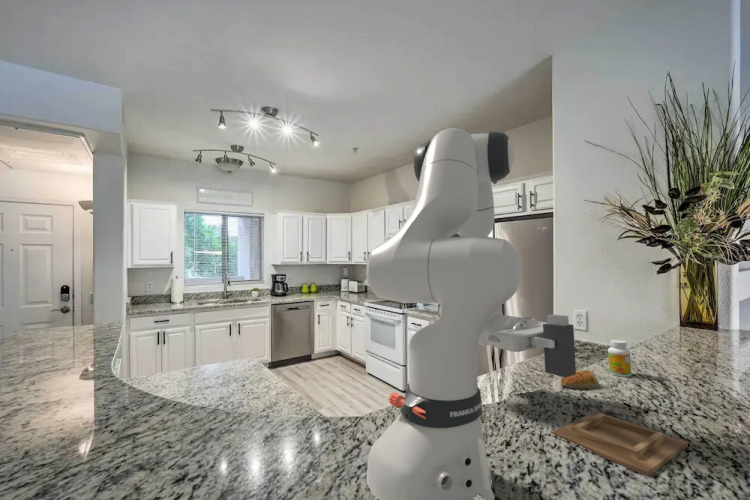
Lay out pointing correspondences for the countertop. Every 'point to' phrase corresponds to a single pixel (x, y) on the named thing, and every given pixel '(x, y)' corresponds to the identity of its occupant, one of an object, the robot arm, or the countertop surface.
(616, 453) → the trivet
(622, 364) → the supplement bottle
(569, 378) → the pastry
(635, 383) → the countertop surface
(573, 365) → the capped dark pillar
